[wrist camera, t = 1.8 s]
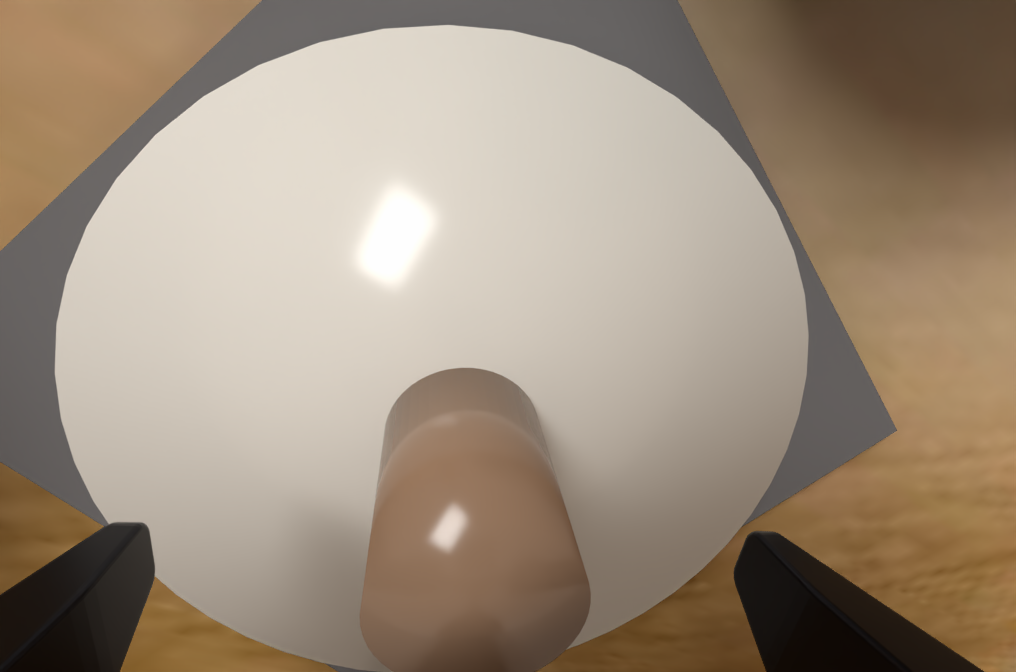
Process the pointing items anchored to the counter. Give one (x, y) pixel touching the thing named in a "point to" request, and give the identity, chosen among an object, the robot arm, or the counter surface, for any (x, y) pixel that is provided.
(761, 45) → the counter surface
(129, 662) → the counter surface
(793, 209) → the counter surface
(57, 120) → the counter surface
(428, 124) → the lid
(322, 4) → the mat
